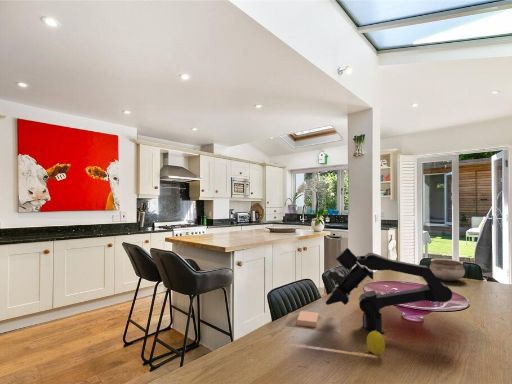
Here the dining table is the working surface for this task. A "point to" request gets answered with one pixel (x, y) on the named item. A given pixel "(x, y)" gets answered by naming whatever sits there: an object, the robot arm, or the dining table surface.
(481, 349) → the dining table surface
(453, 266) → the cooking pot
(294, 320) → the board
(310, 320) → the tile
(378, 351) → the lemon
